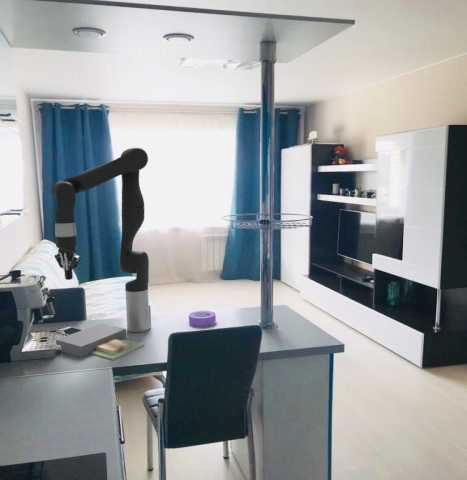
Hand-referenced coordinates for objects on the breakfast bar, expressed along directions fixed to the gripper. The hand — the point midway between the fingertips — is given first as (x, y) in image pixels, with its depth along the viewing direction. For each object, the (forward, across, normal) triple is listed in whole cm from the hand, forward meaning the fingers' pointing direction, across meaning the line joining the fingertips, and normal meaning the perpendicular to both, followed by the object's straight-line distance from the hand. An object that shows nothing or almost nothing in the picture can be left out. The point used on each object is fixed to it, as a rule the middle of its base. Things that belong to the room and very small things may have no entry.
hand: (68, 279), depth 180 cm
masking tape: (+26, -30, -45) cm, 60 cm away
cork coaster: (+24, -21, -2) cm, 32 cm away
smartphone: (+26, +8, -7) cm, 28 cm away
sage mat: (+25, -22, -3) cm, 33 cm away
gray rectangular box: (+25, -9, -2) cm, 27 cm away
